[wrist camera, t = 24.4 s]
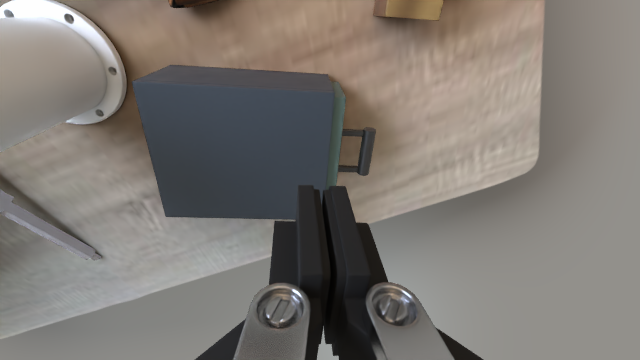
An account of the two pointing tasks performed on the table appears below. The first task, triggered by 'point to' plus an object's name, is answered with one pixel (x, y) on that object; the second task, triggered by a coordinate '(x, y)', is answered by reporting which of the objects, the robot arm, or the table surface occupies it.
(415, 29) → the table surface
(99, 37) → the robot arm
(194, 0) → the sunglasses case
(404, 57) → the table surface
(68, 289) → the table surface
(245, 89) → the cabinet
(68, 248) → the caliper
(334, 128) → the drawer
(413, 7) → the box
